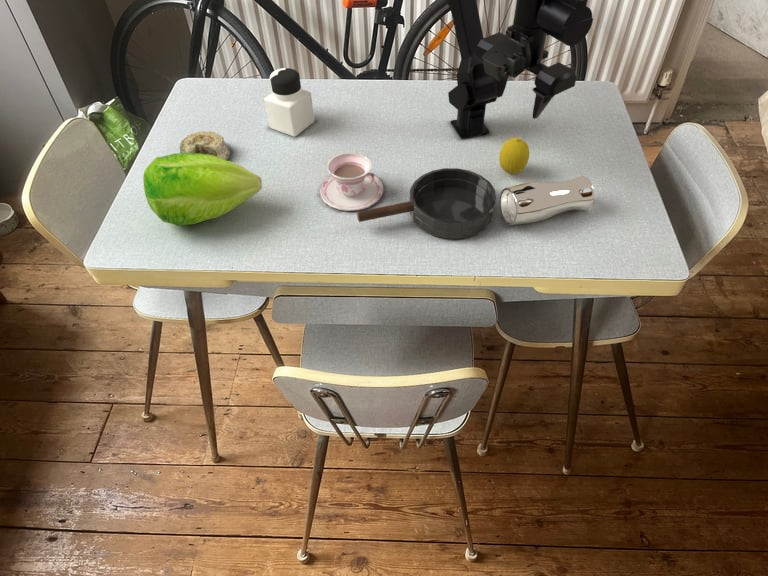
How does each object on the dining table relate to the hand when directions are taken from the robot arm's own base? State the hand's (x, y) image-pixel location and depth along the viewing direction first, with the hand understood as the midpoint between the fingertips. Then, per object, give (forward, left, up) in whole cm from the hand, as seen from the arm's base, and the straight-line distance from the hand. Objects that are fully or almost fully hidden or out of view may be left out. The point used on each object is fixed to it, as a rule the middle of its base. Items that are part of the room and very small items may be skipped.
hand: (516, 107), depth 105 cm
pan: (+11, -16, -12) cm, 23 cm away
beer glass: (+16, +7, -9) cm, 20 cm away
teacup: (0, -32, -12) cm, 34 cm away
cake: (-20, -58, -12) cm, 63 cm away
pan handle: (+11, -28, -10) cm, 32 cm away
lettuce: (-1, -58, -12) cm, 59 cm away
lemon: (+4, -1, -12) cm, 13 cm away
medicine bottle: (-26, -39, -12) cm, 48 cm away
